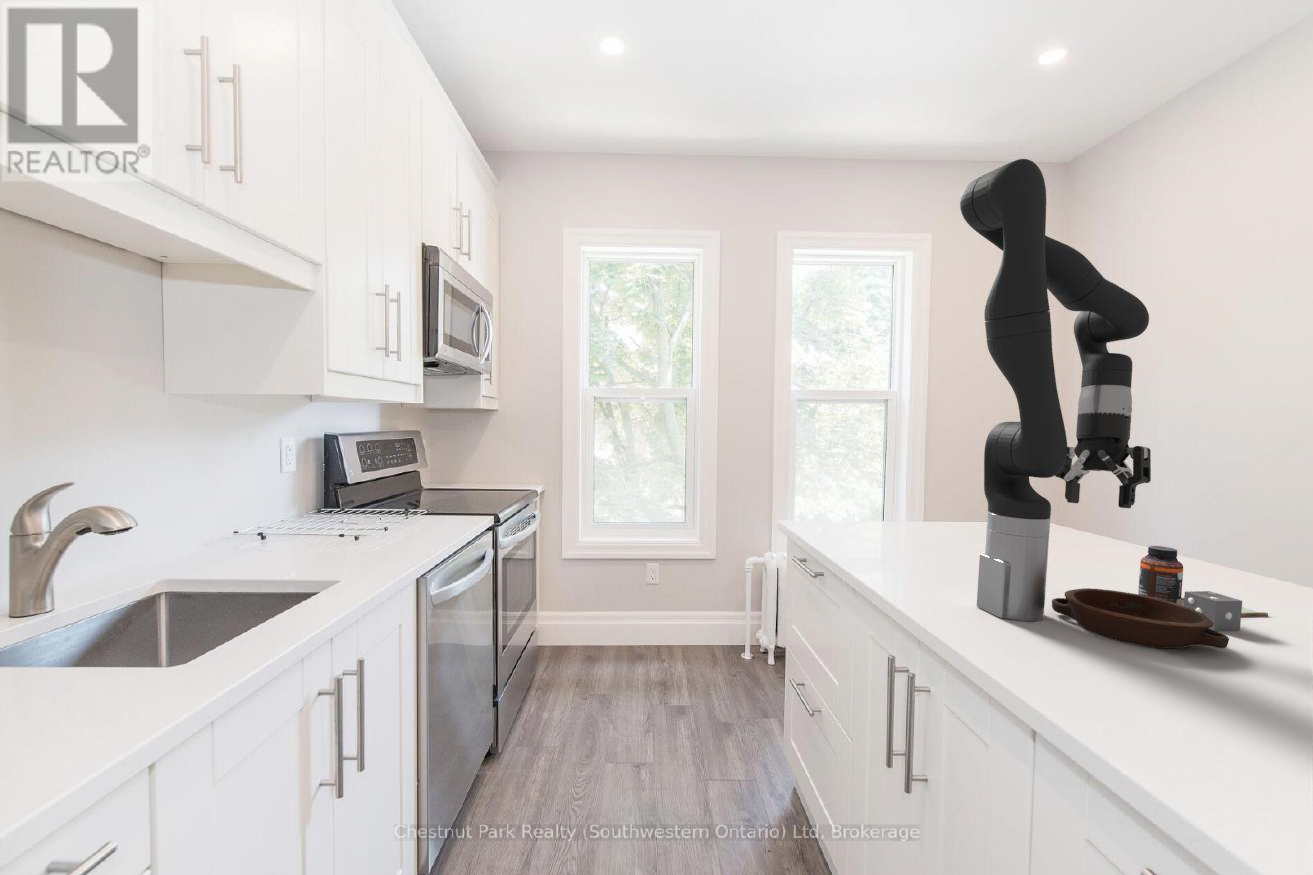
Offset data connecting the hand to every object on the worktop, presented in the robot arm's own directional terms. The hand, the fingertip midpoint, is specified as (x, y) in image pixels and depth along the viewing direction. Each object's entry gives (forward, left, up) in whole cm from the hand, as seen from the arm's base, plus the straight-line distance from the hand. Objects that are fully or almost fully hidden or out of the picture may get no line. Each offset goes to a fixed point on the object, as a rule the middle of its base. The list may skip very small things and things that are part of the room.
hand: (1097, 505), depth 101 cm
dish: (-2, -9, -20) cm, 22 cm away
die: (+16, -7, -19) cm, 26 cm away
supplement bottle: (+15, +1, -19) cm, 25 cm away
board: (+22, +1, -19) cm, 29 cm away
